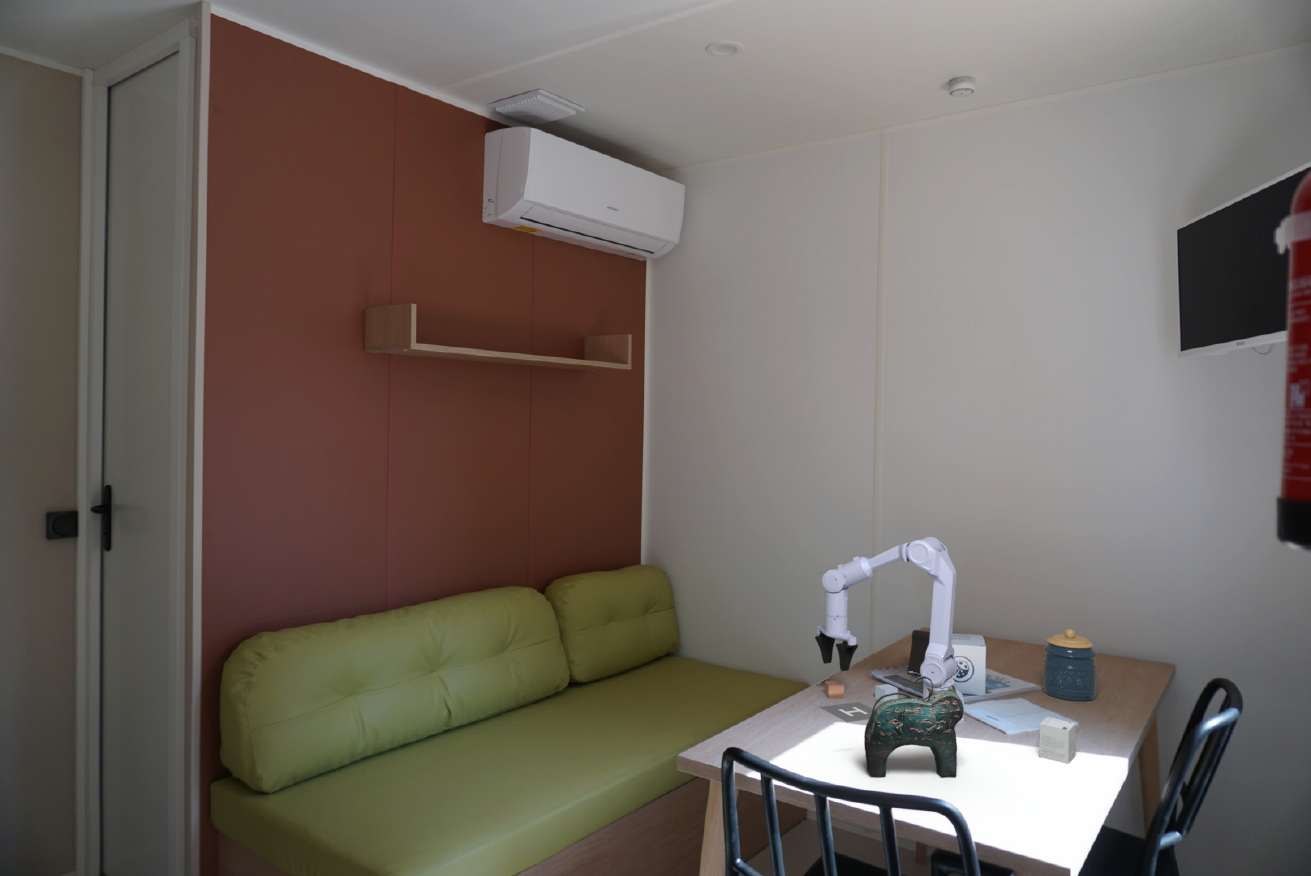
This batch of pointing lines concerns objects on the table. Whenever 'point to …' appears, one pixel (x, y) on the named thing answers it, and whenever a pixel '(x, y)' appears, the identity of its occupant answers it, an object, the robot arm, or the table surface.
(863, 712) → the board
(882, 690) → the pale blue cube
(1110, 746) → the table surface
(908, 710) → the green animal figurine
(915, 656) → the phone stand
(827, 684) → the terracotta block
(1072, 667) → the canister
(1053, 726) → the skincare box
